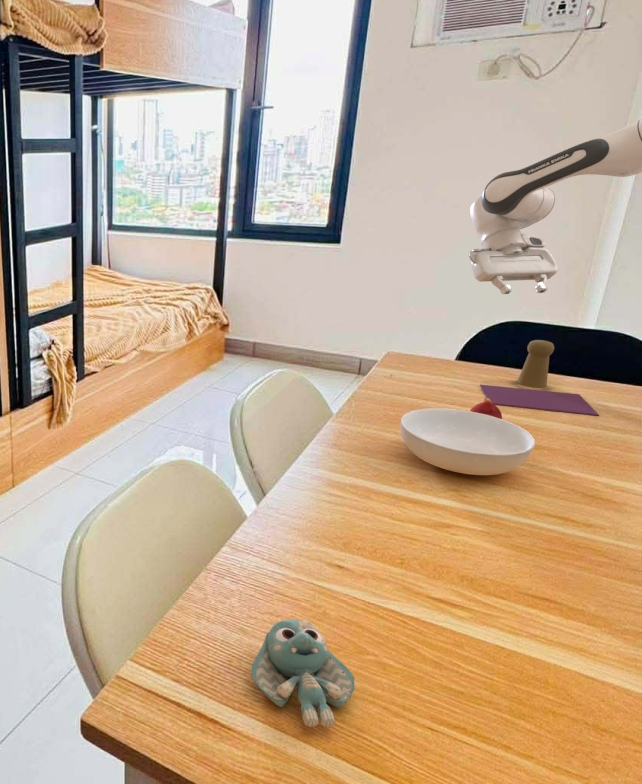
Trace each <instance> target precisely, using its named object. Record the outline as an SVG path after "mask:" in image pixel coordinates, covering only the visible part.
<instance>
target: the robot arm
mask: <svg viewBox="0 0 642 784" xmlns="http://www.w3.org/2000/svg"><path fill="white" fill-rule="evenodd" d="M639 174H642V118H641V119H639V120H637V121H635V122H633V123H631V124H629V125H626V126H624V127H622V128H620V129H617V130H615V131H613V132H610V133H608V134H606V135H603V136H600V137H596V138H593V139H591V140H588V141H584V142H582V143H579V144H577V145H574V146H572V147H569V148H567V149H564V150H562V151H560V152H558V153H555V154H552V155H551V156H548V157H546V158H544V159H542V160H540V161H537V162H535V163H532V164H531V165H528V166H525V167H524V168H523V167H522V168H521V169H516V170H510V171H505V172H502V173H500V174H498V175H496V176H494V177H493V178H492V179H491V180H490V181H489V182H488V183H487V184H486V185H485V187H484V189H483V190H482V194H481V196H479V197H478V198H477V199H475V200H474V201H473V203H472V204H471V206H470V210H469V211H470V212H469V218H470V222H471V225H472V227H473V230H474V233H475V235H476V236H477V237H478V238H479V239H480V246H481V248H474V249H472V250H470V251H469V253H468V257H469V260H470V262H471V263H470V264H471V270H472V273H473V276H474V279H475V280H477V281H478V282H491V284H492V285H493V286H494V287H495V288H497V289H498V290H499V292H500V294H501V295H509V294H510V293H511V292H512V288H511V285H510V284H506V283H505V282H509V281H512V282H513V281H535V283H537V286H535V287H534V289H535V291H536V293H538V294H543V293H545V292H547V291H548V287H547V280H549V279H551V278H552V277H554V276H555V275H556V274H557V272H558V271H559V266H558V263H557V262H556V260H555V258H554V256H553V255H552V253H551V251H550V250H548V248H546V245H547V242H546V241H545V240H544V239H543V238H539V237H536V236H535V237H534V236H531V235H528V234H525V233H522V232H521V230H522V229H525V228H527V227H530V226H532V225H534V224H537V223H538V222H539V221H542V220H544V219H545V218H546V217H547V216H548V215H549V214H550V213H551V212H552V210H553V208H554V206H555V202H556V196H555V192H554V191H553V190H552V189H550V188H549V187H550V186H552V185H554V184H556V183H559V182H561V181H563V180H566V179H568V178H569V179H570V178H572V177H576V176H584V175H585V176H586V175H596V176H597V175H599V176H609V177H619V178H627V177H631V176H635V175H639Z"/></svg>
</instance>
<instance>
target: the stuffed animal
mask: <svg viewBox="0 0 642 784" xmlns="http://www.w3.org/2000/svg"><path fill="white" fill-rule="evenodd" d="M250 676H251V677H252V679H253V680H254V682H255V684H256V686H257V687H258V688H259V690H260V691H261V692H262V694H263V695H264V696H265V697H266V698H268V699H269V701H271V702H272V703H273V704H274V705H275V706H278V707H279V708H283V707H284V706H285V705H286V704H287V702H288V701H289V700H290V698H291V697H292V694H293V692H294V691H295V687H296V685H297V688H296V698H297V700H298V703H299V704H300V705H301V707H300V711H301V712H300V713H301V716H302V721H303V724H304V726H306V727H310V728H315V727H317V726H318V725H319V724H321V727H324V728H331V727H334V726H335V724H336V719H335V717H334V712H333V711H332V708H331V707H330V706H329V705H331V706H333V707H334V708H336V709H337V710H339V709H341V708H342V707H344V706H345V705H346V704H347V703H348V701H349V700H350V698H351V697H352V695H353V693H354V691H355V676H354V675H353V673H352V672H351V671H350V669H349V668H348V666H346V665H345V664H344V663H343V662H342V661H340V659H338V658H337V657H336V656H335V655H334V654H333V653H332V652H331V651H330V650H329V647H328V645H327V641H326V638H325V637H324V636H323V634H322V633H321V632H320V631H319V630H318V627H316V625H314V624H313V622H310V621H308V620H296V619H284V620H279V621H277V622H276V623H274V624H273V625H272V626H271V628H270V630H269V631H268V632H267V633H266V635H265V637H264V640H263V642H262V645H261V647H260V649H259V651H258V653H257V655H256V656H255V659H254V661H253V663H252V664H251V671H250ZM285 676H286V677H287V678H289V679H287V678H286V677H285ZM327 703H328V704H327ZM316 708H317V710H316Z"/></svg>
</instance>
